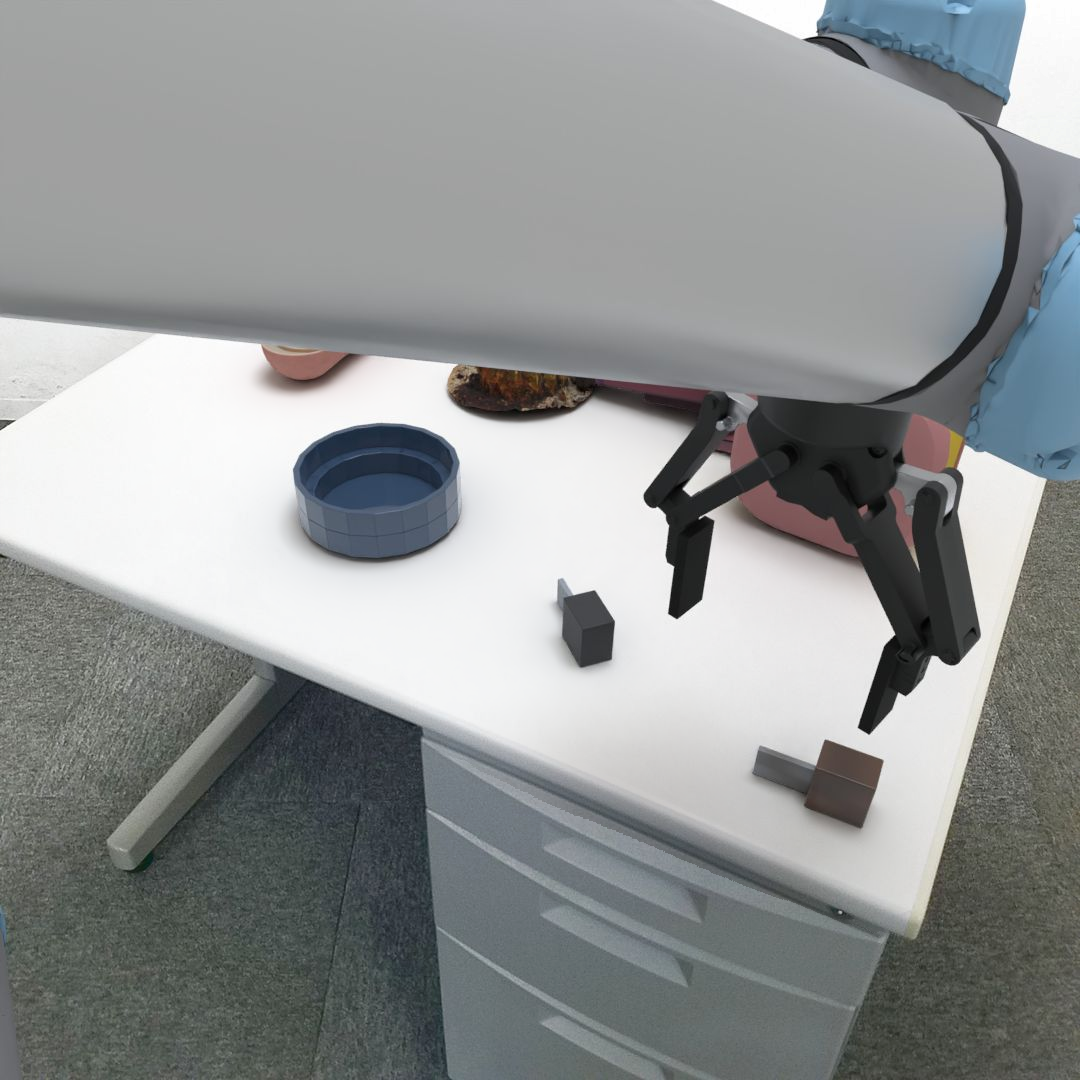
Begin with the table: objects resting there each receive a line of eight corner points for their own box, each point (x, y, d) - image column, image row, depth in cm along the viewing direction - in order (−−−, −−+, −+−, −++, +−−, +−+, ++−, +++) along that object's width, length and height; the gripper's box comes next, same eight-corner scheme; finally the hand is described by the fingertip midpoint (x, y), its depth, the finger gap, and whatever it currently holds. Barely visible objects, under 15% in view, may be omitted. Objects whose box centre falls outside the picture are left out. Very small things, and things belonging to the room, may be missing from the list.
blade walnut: (870, 798, 67) (884, 759, 65) (861, 828, 65) (876, 789, 63) (758, 757, 70) (768, 718, 67) (747, 785, 68) (756, 746, 65)
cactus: (574, 349, 120) (577, 275, 114) (611, 413, 108) (616, 333, 102) (437, 362, 117) (433, 286, 111) (460, 429, 105) (456, 348, 99)
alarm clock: (939, 525, 93) (1002, 341, 81) (904, 586, 85) (967, 394, 73) (761, 463, 101) (794, 287, 89) (715, 514, 93) (744, 330, 81)
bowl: (378, 585, 84) (372, 535, 81) (268, 518, 92) (258, 470, 88) (493, 507, 94) (492, 460, 90) (384, 452, 101) (380, 406, 98)
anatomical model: (311, 401, 109) (305, 362, 106) (245, 380, 113) (238, 341, 110) (426, 325, 125) (424, 289, 122) (365, 309, 129) (361, 273, 126)
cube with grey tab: (612, 659, 78) (615, 621, 75) (580, 667, 77) (582, 629, 74) (574, 597, 83) (576, 560, 81) (544, 604, 83) (545, 567, 80)
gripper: (1151, 408, 41) (998, 736, 54) (685, 250, 55) (652, 543, 68) (1087, 478, 37) (938, 816, 50) (598, 288, 50) (581, 593, 63)
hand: (774, 659), depth 59 cm, fingers open, 13 cm apart
